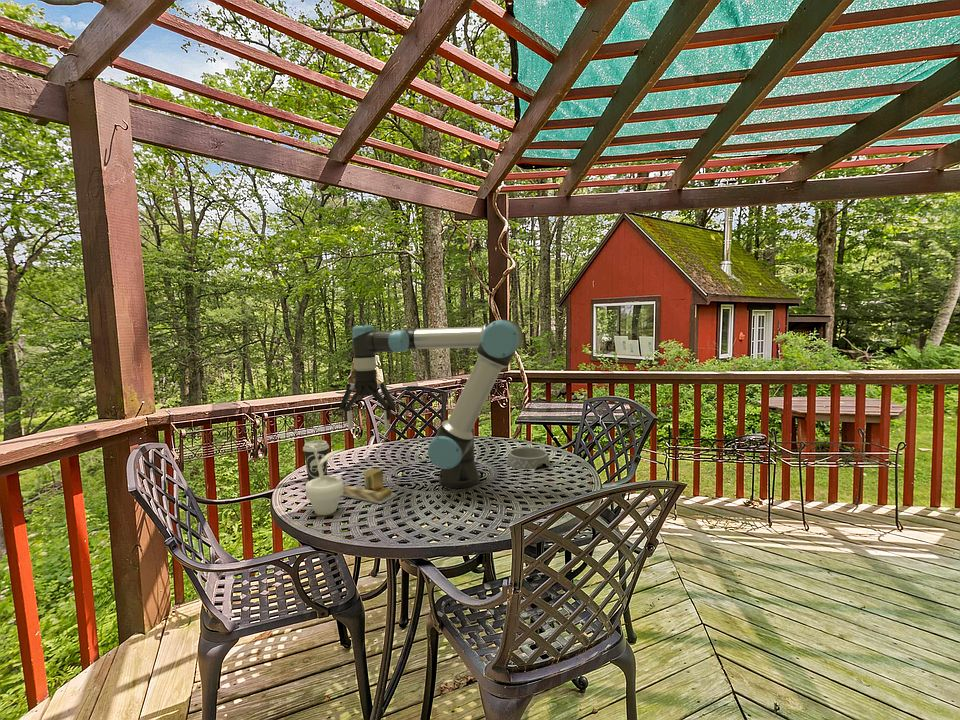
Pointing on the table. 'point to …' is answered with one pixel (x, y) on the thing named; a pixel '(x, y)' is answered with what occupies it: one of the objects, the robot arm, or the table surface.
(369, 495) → the beige flat bent piece
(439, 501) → the table surface
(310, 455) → the coffee cup
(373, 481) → the sliding head
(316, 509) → the potted plant
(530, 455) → the dog bowl
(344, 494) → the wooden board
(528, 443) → the table surface
